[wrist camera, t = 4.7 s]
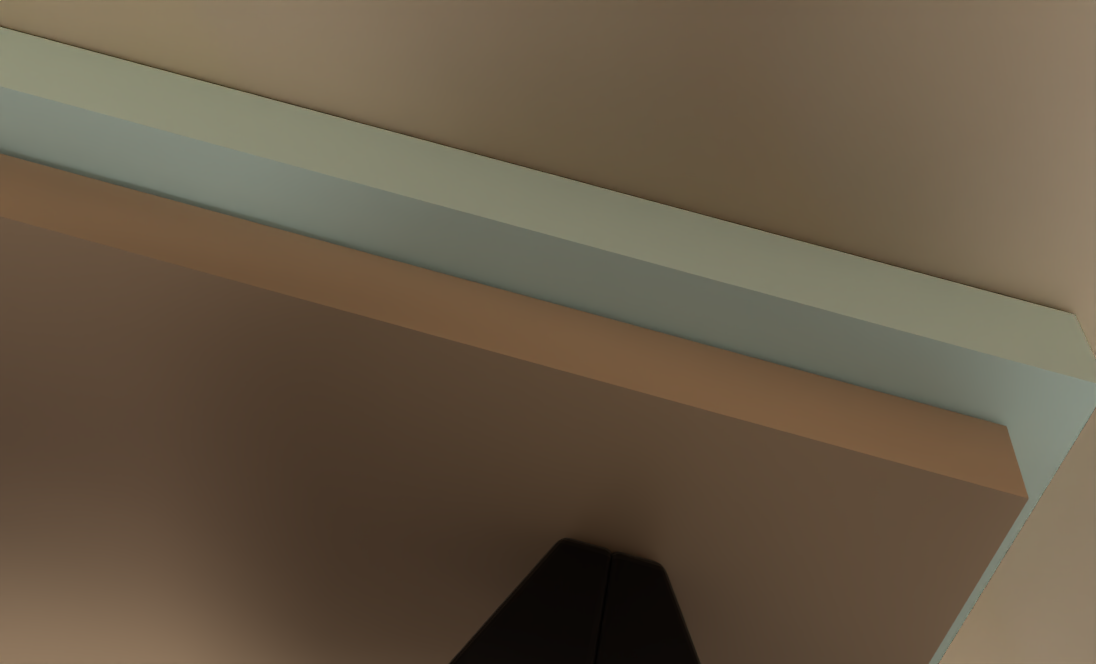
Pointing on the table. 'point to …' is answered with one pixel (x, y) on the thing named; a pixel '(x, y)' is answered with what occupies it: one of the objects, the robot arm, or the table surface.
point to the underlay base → (560, 245)
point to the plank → (427, 457)
